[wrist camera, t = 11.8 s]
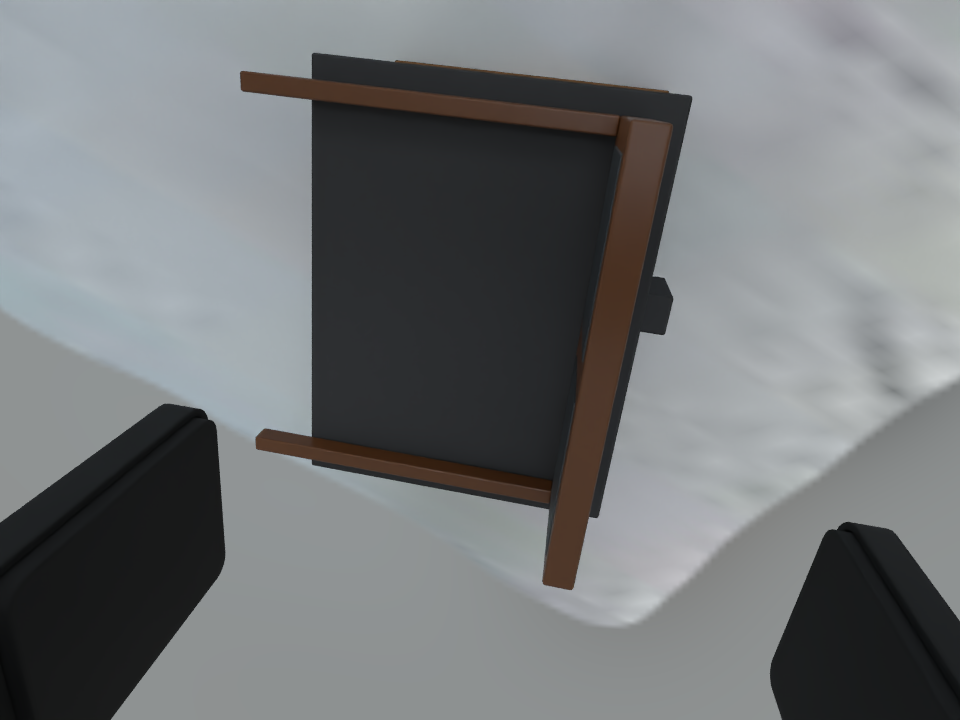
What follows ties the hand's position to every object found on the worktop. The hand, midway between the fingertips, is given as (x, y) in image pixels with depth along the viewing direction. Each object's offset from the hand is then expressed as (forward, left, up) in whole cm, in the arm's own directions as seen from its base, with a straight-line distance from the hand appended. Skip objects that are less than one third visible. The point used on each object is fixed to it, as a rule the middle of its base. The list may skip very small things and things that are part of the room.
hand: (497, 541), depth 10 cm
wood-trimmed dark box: (-3, -1, -25) cm, 25 cm away
